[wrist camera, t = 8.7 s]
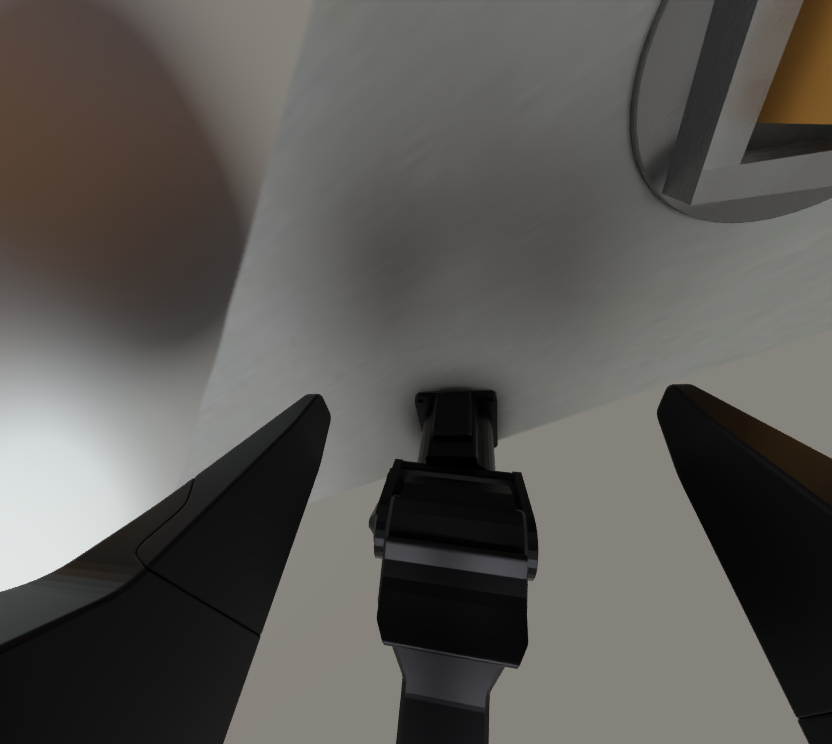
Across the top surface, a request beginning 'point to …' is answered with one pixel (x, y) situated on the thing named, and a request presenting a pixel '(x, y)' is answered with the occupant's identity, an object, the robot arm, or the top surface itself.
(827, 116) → the orange rectangular block
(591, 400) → the top surface
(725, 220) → the rosette collar
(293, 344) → the top surface
